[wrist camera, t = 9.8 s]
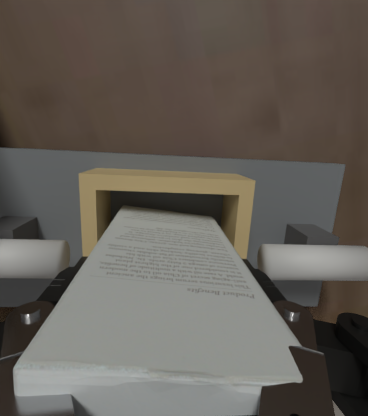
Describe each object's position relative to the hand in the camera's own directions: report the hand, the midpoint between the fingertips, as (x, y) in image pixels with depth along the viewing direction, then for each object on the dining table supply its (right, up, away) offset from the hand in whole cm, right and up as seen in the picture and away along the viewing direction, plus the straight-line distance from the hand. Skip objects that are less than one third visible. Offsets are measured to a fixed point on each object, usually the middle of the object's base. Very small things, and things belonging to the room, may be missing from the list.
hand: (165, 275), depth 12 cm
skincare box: (0, +1, +5) cm, 5 cm away
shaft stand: (0, +2, +7) cm, 7 cm away
